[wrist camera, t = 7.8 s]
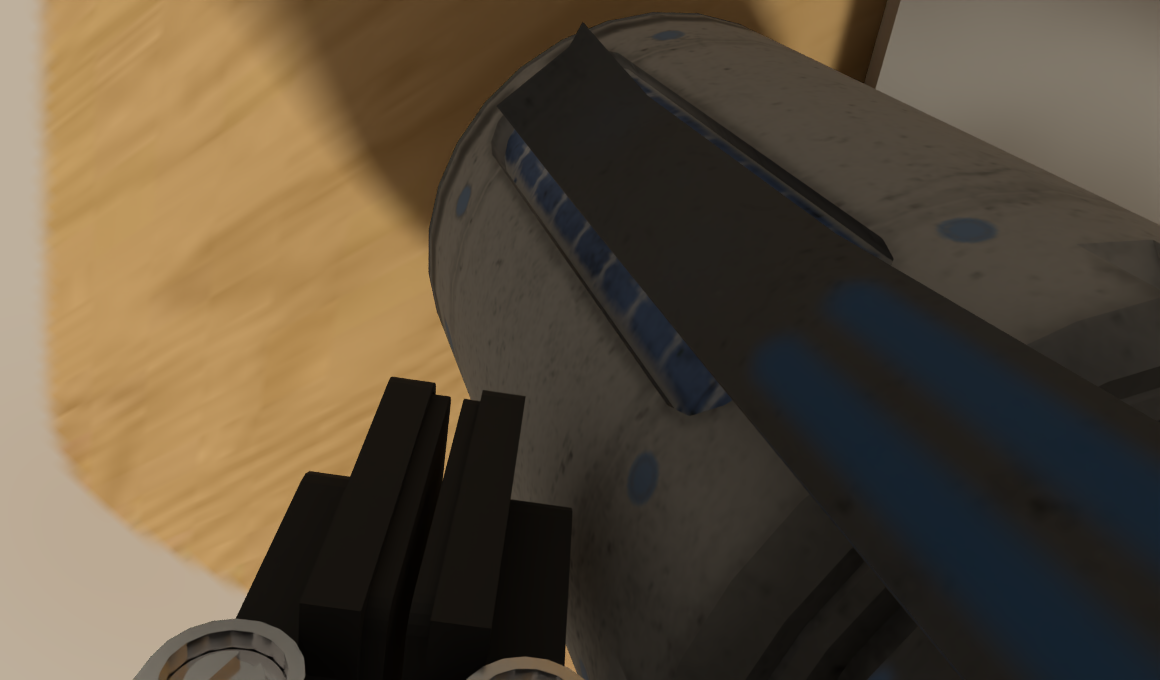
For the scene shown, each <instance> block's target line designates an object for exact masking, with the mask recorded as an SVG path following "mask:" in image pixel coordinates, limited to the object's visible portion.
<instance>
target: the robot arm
mask: <svg viewBox="0 0 1160 680" xmlns="http://www.w3.org/2000/svg"><path fill="white" fill-rule="evenodd" d="M525 398H526V396H522V395H515V394H508V393H501V392H494V391H488V390H483V391H482V395H481V400H480V401H476V400H469V399H464V401H463V404H462V408H461V412H460V416H459V420H458V423H457V427H456V431H455V435H454V439H453V443H452V447H451V451H450V455H449V458H448V462H447V466H446V470H445V474H444V478H443V471H444V462H445V452H446V443H447V434H448V424H449V415H450V404H451V397H448V396H441V395H436V384H435V383H432V382H425V381H418V380H411V379H405V378H398V377H391V378H390V380H389V382H388V384H387V387H386V389H385V392H384V394H383V397H382V399H381V401H380V404H379V406H378V409H377V411H376V414H375V416H374V419H373V421H372V424H371V426H370V429H369V431H368V434H367V436H366V439H365V441H364V444H363V446H362V449H361V451H360V454H359V456H358V459H357V461H356V464H355V466H354V469H353V471H352V474H351V476H350V477H348V476H341V475H333V474H326V473H319V472H312V471H309V472H308V473H306V474H305V476H304V477H303V479H302V481H301V482H300V485H299V487H298V489H297V491H296V493H295V495H294V497H293V499H292V501H291V503H290V506H289V508H288V510H287V512H286V514H285V516H284V518H283V520H282V522H281V524H280V527H279V529H278V531H277V533H276V535H275V537H274V539H273V541H272V543H271V546H270V548H269V550H268V552H267V554H266V556H265V558H264V560H263V562H262V564H261V567H260V569H259V571H258V573H257V575H256V577H255V579H254V581H253V583H252V586H251V588H250V590H249V592H248V594H247V596H246V598H245V600H244V602H243V604H242V607H241V609H240V611H239V613H238V615H237V617H236V619H229V620H219V621H211V622H208V623H205V624H202V625H198V626H195V627H192V628H189V629H187V630H186V631H184V632H182V633H180V634H178V635H177V636H175V637H173V638H171V639H170V640H168V641H167V642H166V643H165V644H164V645H163V646H161V647H160V648H159V649H158V650H157V651H156V652H155V653H154V654H153V655H152V656H151V657H150V658H149V660H148V661H147V662H146V664H145V665H144V666H143V668H142V669H141V670H140V671H139V673H138V674H137V675H136V676H135V678H134V679H133V680H585V679H583V678H582V677H580V676H579V675H578V674H576V673H575V672H574V671H572V670H571V669H569V668H568V667H565V666H564V664H565V645H566V627H567V609H568V590H569V572H570V553H571V535H572V513H573V511H572V508H570V507H563V506H556V505H548V504H541V503H534V502H527V501H520V500H513V499H511V493H512V486H513V480H514V473H515V466H516V459H517V453H518V446H519V439H520V432H521V425H522V419H523V412H524V405H525ZM442 481H443V482H442Z"/></svg>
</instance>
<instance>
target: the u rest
mask: <svg viewBox="0 0 1160 680" xmlns="http://www.w3.org/2000/svg"><path fill="white" fill-rule="evenodd" d="M864 84H866V85H868V86H870V87H872V88H874V89H876V90H878V91H880V92H882V93H884V94H887V95H889V96H891V97H893V98H895V99H897V100H899V101H901V102H903V103H905V104H908V105H910V106H912V107H914V108H916V109H918V110H920V111H922V112H924V113H926V114H928V115H931V116H933V117H935V118H937V119H939V120H941V121H943V122H945V123H947V124H949V125H951V126H954V127H956V128H958V129H960V130H962V131H964V132H966V133H968V134H970V135H972V136H974V137H977V138H979V139H981V140H983V141H985V142H987V143H989V144H991V145H993V146H995V147H997V148H1000V149H1002V150H1004V151H1006V152H1008V153H1010V154H1012V155H1014V156H1016V157H1018V158H1020V159H1023V160H1025V161H1027V162H1029V163H1031V164H1033V165H1035V166H1037V167H1039V168H1041V169H1044V170H1046V171H1048V172H1050V173H1052V174H1054V175H1056V176H1058V177H1060V178H1062V179H1064V180H1067V181H1069V182H1071V183H1073V184H1075V185H1077V186H1079V187H1081V188H1083V189H1085V190H1087V191H1090V192H1092V193H1094V194H1096V195H1098V196H1100V197H1102V198H1104V199H1106V200H1108V201H1110V202H1113V203H1115V204H1117V205H1119V206H1121V207H1123V208H1125V209H1127V210H1129V211H1131V212H1133V213H1136V214H1138V215H1140V216H1142V217H1144V218H1146V219H1148V220H1150V221H1152V222H1154V223H1156V224H1159V225H1160V0H887V3H886V7H885V10H884V14H883V18H882V21H881V25H880V28H879V32H878V36H877V39H876V43H875V46H874V50H873V54H872V57H871V61H870V64H869V68H868V71H867V75H866V79H865V82H864Z"/></svg>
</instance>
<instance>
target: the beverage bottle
mask: <svg viewBox="0 0 1160 680" xmlns="http://www.w3.org/2000/svg"><path fill="white" fill-rule="evenodd" d="M429 277H430V282H431V286H432V291H433V296H434V300H435V305H436V310H437V313H438V315H439V318H440V321H441V323H442V326H443V329H444V331H445V334H446V336H447V339H448V342H449V344H450V347H451V349H452V352H453V354H454V357H455V360H456V362H457V365H458V367H459V370H460V372H461V375H462V378H463V380H464V383H465V385H466V388H467V391H468V393H469V396H470V398H471V400H476V401H480V400H481V395H482V391H483V390H488V391H494V392H501V393H508V394H515V395H522V396H526V398H525V405H524V412H523V419H522V425H521V432H520V439H519V446H518V453H517V459H516V466H515V473H514V480H513V486H512V493H511V499H513V500H520V501H527V502H534V503H541V504H548V505H556V506H563V507H570V508H572V511H573V513H572V535H571V553H570V572H569V590H568V609H567V627H566V646H567V648H568V651H569V654H570V656H571V659H572V661H573V664H574V667H575V669H576V672H577V674H578V675H579V676H580V677H582V678H583V679H585V680H1160V225H1159V224H1156V223H1154V222H1152V221H1150V220H1148V219H1146V218H1144V217H1142V216H1140V215H1138V214H1136V213H1133V212H1131V211H1129V210H1127V209H1125V208H1123V207H1121V206H1119V205H1117V204H1115V203H1113V202H1110V201H1108V200H1106V199H1104V198H1102V197H1100V196H1098V195H1096V194H1094V193H1092V192H1090V191H1087V190H1085V189H1083V188H1081V187H1079V186H1077V185H1075V184H1073V183H1071V182H1069V181H1067V180H1064V179H1062V178H1060V177H1058V176H1056V175H1054V174H1052V173H1050V172H1048V171H1046V170H1044V169H1041V168H1039V167H1037V166H1035V165H1033V164H1031V163H1029V162H1027V161H1025V160H1023V159H1020V158H1018V157H1016V156H1014V155H1012V154H1010V153H1008V152H1006V151H1004V150H1002V149H1000V148H997V147H995V146H993V145H991V144H989V143H987V142H985V141H983V140H981V139H979V138H977V137H974V136H972V135H970V134H968V133H966V132H964V131H962V130H960V129H958V128H956V127H954V126H951V125H949V124H947V123H945V122H943V121H941V120H939V119H937V118H935V117H933V116H931V115H928V114H926V113H924V112H922V111H920V110H918V109H916V108H914V107H912V106H910V105H908V104H905V103H903V102H901V101H899V100H897V99H895V98H893V97H891V96H889V95H887V94H884V93H882V92H880V91H878V90H876V89H874V88H872V87H870V86H868V85H866V84H864V83H861V82H859V81H857V80H855V79H853V78H851V77H849V76H847V75H845V74H843V73H841V72H838V71H836V70H834V69H832V68H830V67H828V66H826V65H824V64H822V63H820V62H818V61H815V60H813V59H811V58H809V57H807V56H805V55H803V54H801V53H799V52H797V51H795V50H792V49H790V48H788V47H786V46H784V45H782V44H780V43H778V42H776V41H774V40H772V39H769V38H767V37H765V36H763V35H761V34H759V33H757V32H755V31H753V30H751V29H748V28H746V27H744V26H742V25H740V24H737V23H733V22H730V21H726V20H722V19H718V18H714V17H710V16H706V15H702V14H699V13H662V12H652V13H647V14H642V15H636V16H631V17H626V18H621V19H616V20H610V21H606V22H604V23H601V24H599V25H597V26H594V27H592V28H588V27H587V26H586V25H585V24H584V23H583V22H582V24H581V26H580V28H579V30H578V31H577V33H576V34H575V35H572V36H570V37H568V38H565V39H563V40H561V41H560V42H558V43H556V44H555V45H553V46H552V47H550V48H549V49H547V50H546V51H544V52H543V53H541V54H540V55H538V56H537V57H535V58H534V59H532V60H531V61H529V62H528V63H526V64H525V65H523V66H522V67H521V68H520V69H518V70H517V71H516V72H515V73H514V74H513V75H512V76H511V77H510V78H509V79H508V80H507V81H506V82H505V83H504V84H503V85H502V86H501V87H500V88H499V89H498V90H497V91H496V92H495V93H494V94H493V95H492V96H491V97H490V98H489V99H488V100H487V101H486V102H485V103H484V105H483V106H482V108H481V109H480V110H479V112H478V113H477V115H476V116H475V118H474V119H473V121H472V122H471V124H470V125H469V126H468V128H467V129H466V131H465V132H464V134H463V135H462V137H461V138H460V139H459V141H458V142H457V144H456V147H455V149H454V151H453V154H452V156H451V158H450V161H449V163H448V165H447V167H446V170H445V172H444V174H443V177H442V179H441V181H440V183H439V186H438V190H437V195H436V199H435V204H434V208H433V213H432V218H431V222H430V227H429Z"/></svg>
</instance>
